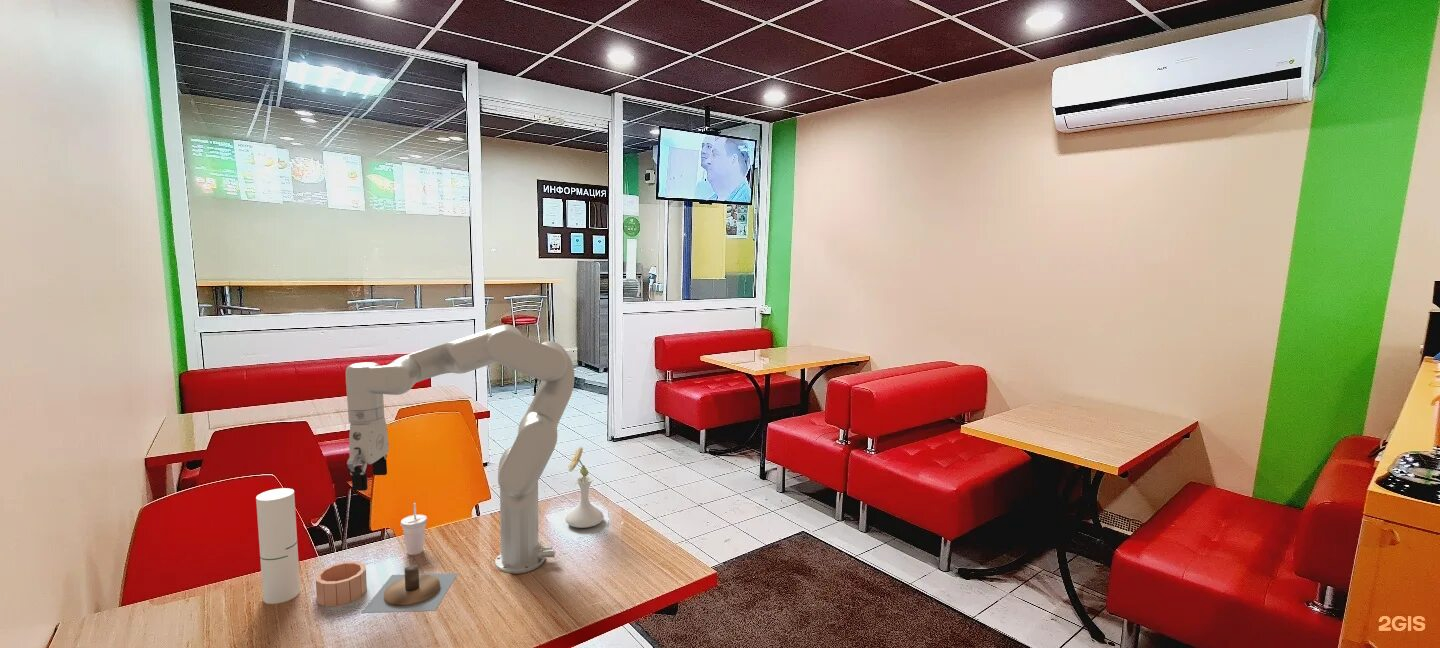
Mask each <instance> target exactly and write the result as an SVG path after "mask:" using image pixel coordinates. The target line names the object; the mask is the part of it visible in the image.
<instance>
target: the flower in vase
mask: <svg viewBox="0 0 1440 648" xmlns="http://www.w3.org/2000/svg"><path fill="white" fill-rule="evenodd" d="M583 449H584V448H583V447H582V446H579V447H578V449H575V451H574V455H573V457H571V459H570V461H571V462H570V464H568V466H567V468H569V469H568V471H570V472H572V471H573V470H575V468H576V467H577V465H578V464H579V463H580V465H581V468H580V469H579V470H580V471H579V472H580V474H581V475H582V476H580V477H578V478H576V479H575V481H576V482H577V484H578V486H579V489H580V501H579V504H577V505H576V506H575V507H573V509H571V510H570V511H569V512H568V513H566V516H565V522H566V523H567V524H568V525H569V526H571V527H573V528H581V529H583V528H590V527H594V526H597V525H598V524H600V523H602V521H603V520H604V516H605V515H604V514H603V512H602V510H600V509H599V508H598V507H596V506H595V505H593V504H592V503H591V502H590V499H589V494H590V493H589V491H590V487H591V483H592V482H593V481H594V478H593V477H591V476H588V475H589V470H588V469H587V468H586V465H584V464H583V463H582V461H581V457H582V455H583V451H584V450H583Z"/></svg>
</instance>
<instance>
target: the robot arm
mask: <svg viewBox="0 0 1440 648" xmlns="http://www.w3.org/2000/svg"><path fill="white" fill-rule="evenodd" d="M496 363H497V364H499V365H502V366H503V367H506V368H508V369H511V370H513V371H516V372H519V373H521V374H523V375H526V376H529V377H531V378H534V379H537V380H540V382H539V386H538V388H537V390H536V392H535V394H534V396H533V398H532V401H531V402H530V405H529V406H528V409H527V410H526V412H525V414H524V416H523V417H522V419H521V421H520V422H519V425H518V429H517V430H518V431H517V436H516V438H515V439H514V442H513V444H512V446H509V447H508V448H507V449H506V450H505V451H504V452H503V453H502V455H501V457H500V460H499V461H498V462H499V463H498V470H497V471H498V473H497V482H498V486H499V519H500V521H499V522H500V523H499V524H500V529H499V530H500V533H499V534H500V553H499V554H498V555H497V557H496V558H495V559H494V567H495V568H496V569H497V570H499V571H500V572H503V573H508V574H510V575H516V574H518V575H519V574H525V573H529V572H532V571H534V570H536V569H537V568H540V566H542V564H543V563H544V562H545V560H546V559H545V558H555V557H556V549H553V546H550V545H548V546H544V545H542V540H539V481H540V478H541V477H542V474H543V472H544V470H545V469H546V467H547V465H548V463H549V460H550V459H551V456H552V455H553V453H554V451H555V448H556V446H557V442H558V437H559V436H558V425H559V424H560V421H561V419H562V417H563V415H564V413H565V411H566V407H567V405H568V403H569V401H570V399H571V396H572V393H573V391H574V388H575V387H574V385H575V369H574V364H573V362H572V359H571V356H570V355H569V354H568V352H567V350H566V349H565V348H564V347H563V346H562V345H561V344H559V343H558V342H555V341H552V340H546V341H543V342H538V341H536V340H534V339H531V338H529V337H527V336H525V335H523V334H522V333H521V331H520V330H519V329H518V328H517V327H516V326H514V325H511V324H501V325H497V326H495V327H492V328H488V329H486V330H483V331H479V332H477V333H473V334H471V335H467V336H464V337H462V338H457V339H455V340H452V341H449V342H448V341H447V342H445V343H442V344H439V345H438V344H437V345H435V346H432V347H427V348H425V349H422V350H418V351H416V352H412V353H408V354H406V355H404V356H400V357H398V358H396V359H395V360H393V361H392V362H390V363H389V364H386V365H380V364H379V363H378V362H373V361H372V362H371V361H369V362H366V361H365V362H355V363H352V364H350V365H348V366H347V367H346V369H345V385H346V402H347V415H348V418H347V419H348V423H349V437H348V438H349V440H348V442H349V443H348V444H349V446H348V447H349V449H348V451H349V458H348V459H347V461H346V464H347V467H348V471H349V472H350V473H349V474H350V476H351V486H352V488H351V489H352V491H360V492H361V491H362V492H363V491H364V492H365V491H367V490H368V488H369V487H368V473H366V469H367V466H368V465H372V475H373V476H386V475H387V474H388V465H387V458H388V453H389V451H390V445H389V435H388V428H387V422H386V418H385V407H384V406H385V405H384V404H385V403H384V402H385V401H384V395H390V396H398V395H404V394H406V393H408V392H409V391H410V390H411V389H412V388H413V387H414V385H415V384H416V383H420V382H421V381H425V380H428V379H430V378H435V377H437V376H441V375H445V374H461V375H462V374H465V373H469V372H472V371H475V370H478V369H480V368H484V367H487V366H489V365H492V364H496ZM359 466H361V467H359Z"/></svg>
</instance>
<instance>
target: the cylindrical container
mask: <svg viewBox="0 0 1440 648" xmlns="http://www.w3.org/2000/svg"><path fill="white" fill-rule="evenodd" d="M295 501H296V500H295V490H294V489H293V488H288V487H287V488H286V487H284V488H283V487H280V488H274V489H270V490H266V491H263V492H261V493H259V494H257V495H256V497H255V502H256V503H255V504H256V515H257V516H256V517H257V528H258V529H257V530H258V544H259V557H260V571H261V572H260V574H261V585H262V587H261V588H262V599H263V600H262V601H263V603H265V604H267V605H276V604H278V605H279V604H281V603H282V604H283V603H286V602H289V601H290V600H292V599H293V600H294V598H296V597H297V596H298V595H299V594H300V593H301V581H300V566H299V564H300V563H299V550H298V548H299V547H298V534H297V516H296V515H297V514H296V502H295Z"/></svg>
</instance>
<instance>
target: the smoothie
mask: <svg viewBox="0 0 1440 648" xmlns="http://www.w3.org/2000/svg"><path fill="white" fill-rule="evenodd" d="M416 503H417V502H414V503H413V514H412V515H408V516H406V517H404V518H402V519H401V520H400V526H401V527H402V532H403V537H404V541H405V542H404V543H405V548H406V553H407V555H408V556H410V555H411V556H417V555H419V554H421V553H422V552H423V551H424V545H425V534H426V526H427V525H426V524H427V522H428V516H427V515H424V514H417V504H416Z"/></svg>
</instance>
